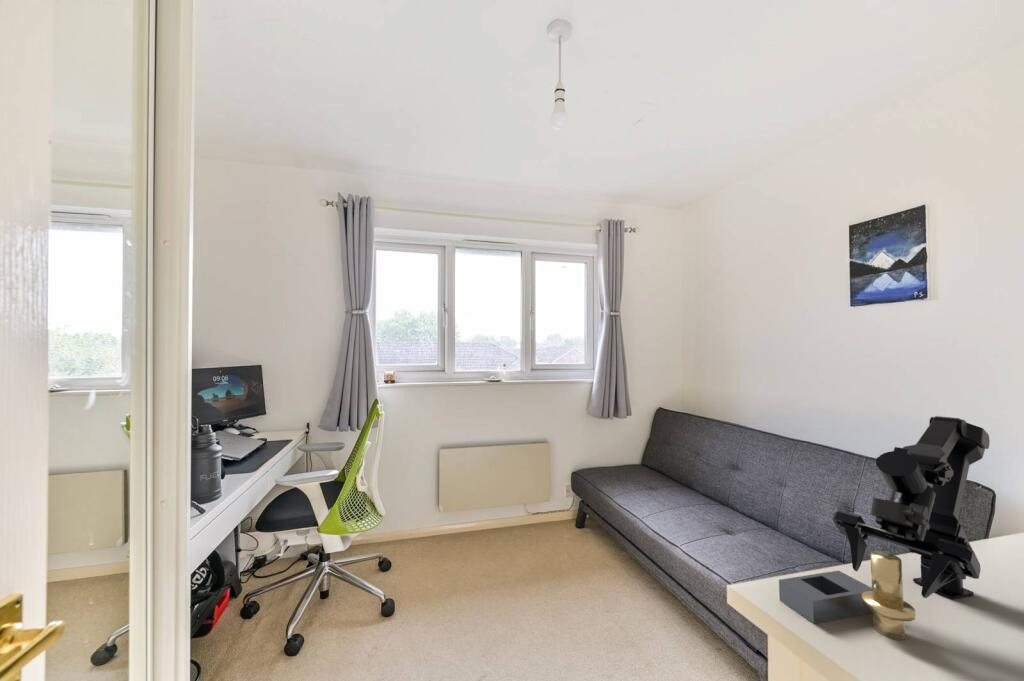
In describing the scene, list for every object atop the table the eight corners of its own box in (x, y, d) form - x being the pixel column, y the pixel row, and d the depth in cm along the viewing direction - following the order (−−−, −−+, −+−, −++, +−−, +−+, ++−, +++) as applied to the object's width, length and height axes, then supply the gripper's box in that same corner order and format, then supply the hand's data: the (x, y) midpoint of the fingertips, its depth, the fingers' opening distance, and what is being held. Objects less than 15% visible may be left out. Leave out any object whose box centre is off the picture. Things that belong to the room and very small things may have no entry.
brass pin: (881, 616, 72) (878, 545, 73) (927, 642, 66) (923, 564, 66) (853, 621, 71) (850, 549, 71) (897, 648, 64) (893, 568, 65)
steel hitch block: (839, 590, 80) (838, 570, 81) (877, 611, 74) (876, 590, 74) (779, 600, 77) (778, 579, 77) (813, 623, 70) (812, 601, 71)
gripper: (834, 469, 80) (809, 535, 75) (971, 498, 64) (951, 585, 58) (853, 501, 84) (830, 567, 78) (988, 536, 67) (971, 622, 62)
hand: (887, 582), depth 69 cm, fingers open, 9 cm apart
